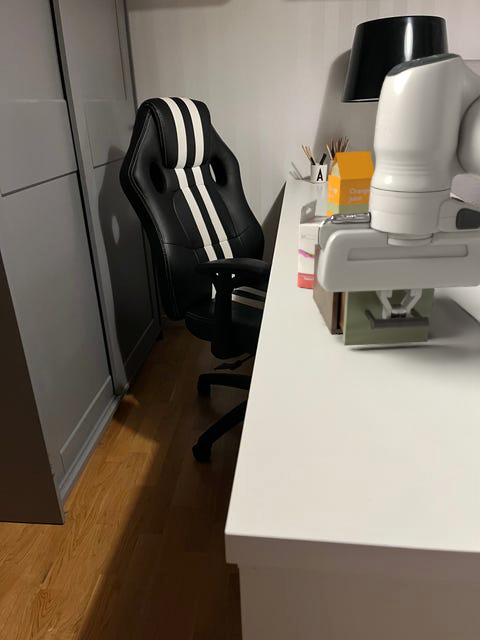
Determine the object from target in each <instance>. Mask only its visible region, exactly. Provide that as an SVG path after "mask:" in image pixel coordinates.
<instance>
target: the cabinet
mask: <svg viewBox="0 0 480 640" xmlns="http://www.w3.org/2000/svg"><path fill="white" fill-rule="evenodd" d="M320 251H321V249H320V247H319V245H318V244H315V254H314V281H313V289H312V299H313V301H314V303H315V305H316V307H317V309H318V311H319V313H320V315H321V317H322V319H323V322H324V323H325V325H326V327H327V329H328V331H329V333H330V335H340V334H339V333H343V330H342V329H341V327H340V325H339V323H338V321H337V312H338V295H339V292H327V291H326V290H325V289H324V288H323V287H322V286H321V285H320V283H319V281H318V278H317V271H318V262H319V256H320ZM336 333H337V334H336Z"/></svg>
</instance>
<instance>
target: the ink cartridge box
mask: <svg viewBox="0 0 480 640" xmlns="http://www.w3.org/2000/svg"><path fill="white" fill-rule="evenodd" d="M316 207H317V199H314V200H312V201H310V202H308V203H306V204H304V205H301V208H300V214H299V222H298V245H297V246H298V247H297V248H298V250H297V256H298V257H297V287H299V288H306V289H312V290H313V281H314V254H315V244H318V229H319V226H320V224H321V223H322V222H323V221H324V220H326V219H327V218H331V216H327V215H318V214H317V215H316V211H317V208H316ZM308 210H310V211H308ZM307 211H308V212H307ZM327 223H331V221H329V222H327Z"/></svg>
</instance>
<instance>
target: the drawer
mask: <svg viewBox="0 0 480 640" xmlns="http://www.w3.org/2000/svg"><path fill="white" fill-rule="evenodd" d="M434 293H435V288H424V289H422V295H421V297H420V299H419V300H418V301H417V302H416V304H415V305H414V306H413V308H412V309H410V317H409V318H386V319H383V317H382V312H383V305H382V303H381V301H380V299H379V297H378V296H377V294H376V290H372V291H347V292H339V295H338V312H337V321H338V323H339V325H340V327H341V329H342V330H343V334H342V343H343V345H344V346H365V345H387V344H388V345H389V344H407V343H409V344H410V343H427V342H428V336H429V330H430V322H431V315H432V308H433V302H434V301H433V300H434ZM406 295H407V292H406V291H405V289H398V290H392V297H387V299H388V301H389V303H390V304H401V302H402V301H403V299H404V298H405V296H406Z"/></svg>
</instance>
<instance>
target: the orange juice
mask: <svg viewBox="0 0 480 640" xmlns="http://www.w3.org/2000/svg"><path fill="white" fill-rule="evenodd" d="M374 171H375V167H374V163H373V159H372V153H371V150H361V151H360V150H359V151H340V152H339V151H338V152H335V153H334V157H333V160H332V163H331V167H330V170H329V173H328V175H327V176H328V177H327V201H326V216H331V215H333V214H354V213H368V210H369V198H370V186H371V180H372V177H373V174H374ZM346 223H347V222H346Z"/></svg>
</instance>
